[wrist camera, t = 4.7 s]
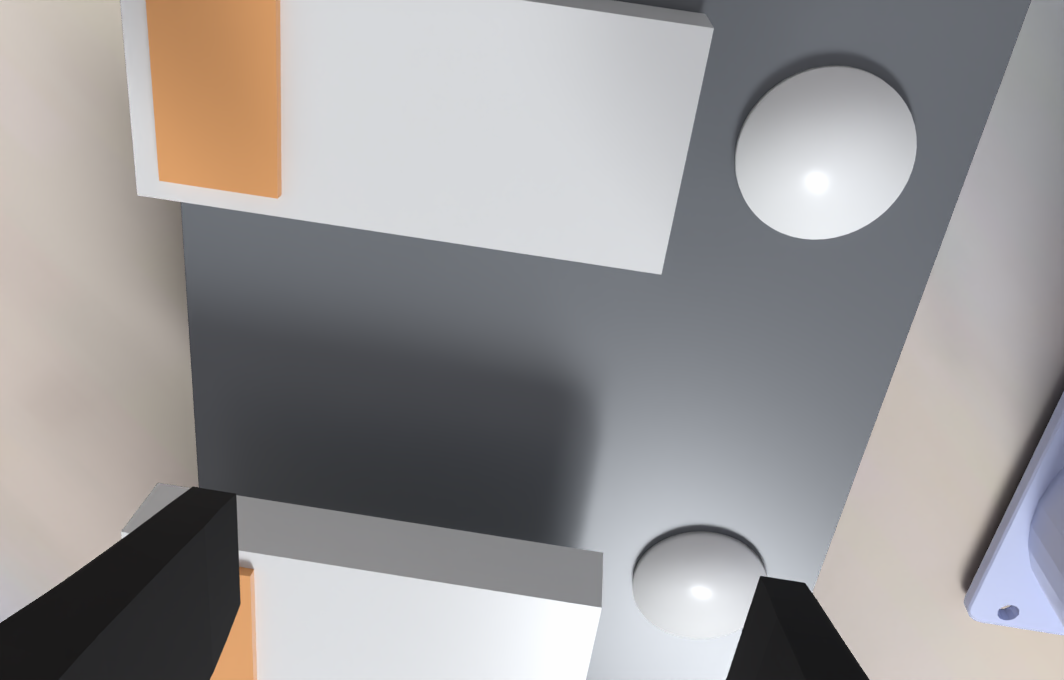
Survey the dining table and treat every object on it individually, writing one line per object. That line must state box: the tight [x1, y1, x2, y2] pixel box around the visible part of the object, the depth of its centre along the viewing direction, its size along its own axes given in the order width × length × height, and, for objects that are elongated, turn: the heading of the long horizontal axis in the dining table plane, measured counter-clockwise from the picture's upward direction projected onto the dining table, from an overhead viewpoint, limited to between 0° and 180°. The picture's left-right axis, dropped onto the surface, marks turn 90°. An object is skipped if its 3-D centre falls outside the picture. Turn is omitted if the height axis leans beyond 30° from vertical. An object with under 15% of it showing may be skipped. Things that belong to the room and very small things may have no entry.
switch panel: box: [181, 0, 1031, 680], centre depth 17 cm, size 14×28×3 cm, turn 173°
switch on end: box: [121, 483, 603, 680], centre depth 18 cm, size 9×4×2 cm, turn 83°
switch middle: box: [120, 0, 714, 275], centre depth 15 cm, size 9×4×2 cm, turn 83°
